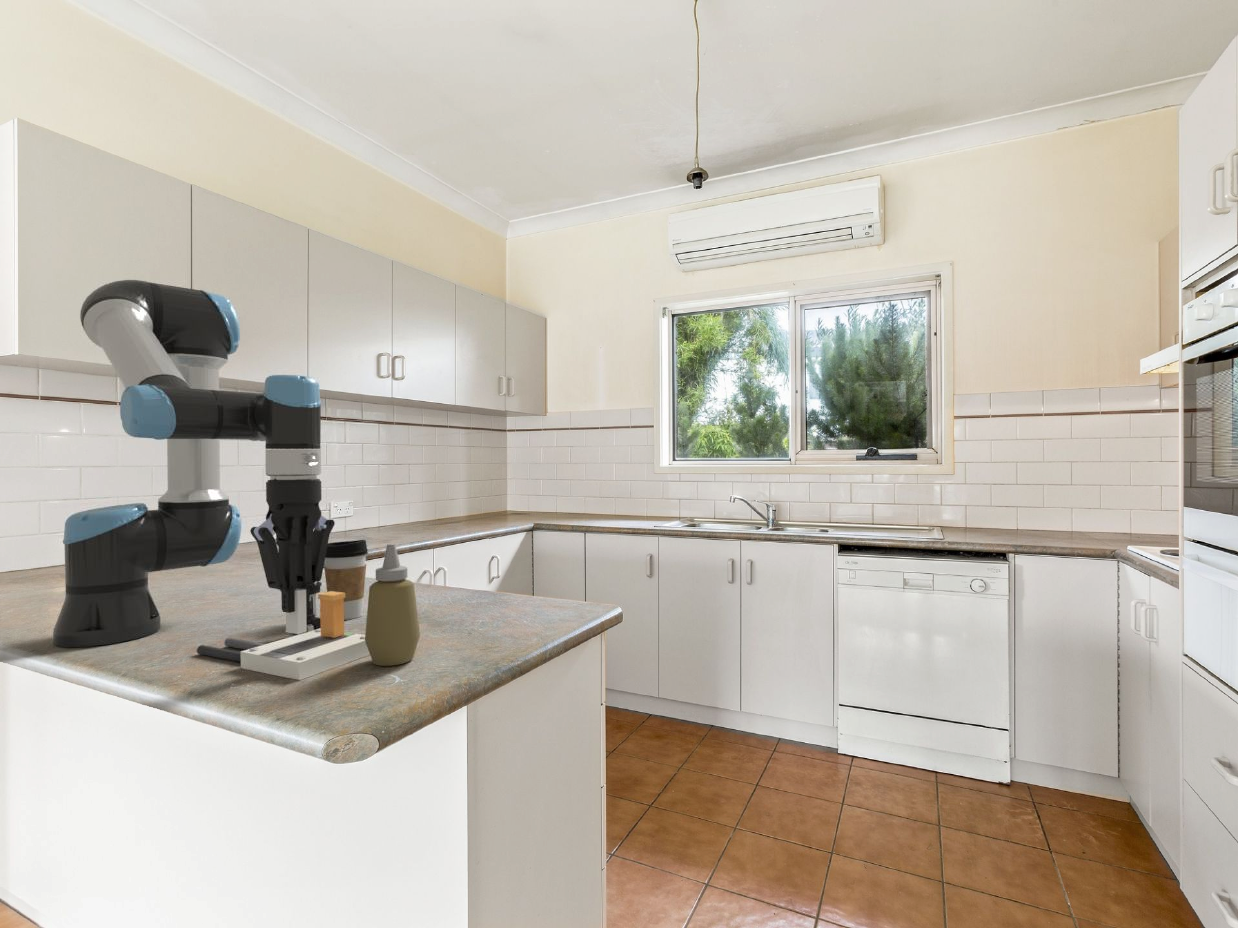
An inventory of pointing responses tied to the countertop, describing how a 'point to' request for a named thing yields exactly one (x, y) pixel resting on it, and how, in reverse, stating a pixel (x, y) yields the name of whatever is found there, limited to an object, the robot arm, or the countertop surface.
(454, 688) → the countertop surface
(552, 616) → the countertop surface
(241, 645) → the cord
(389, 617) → the squeeze bottle
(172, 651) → the countertop surface
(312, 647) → the panel
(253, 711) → the countertop surface
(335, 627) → the lever
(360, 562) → the coffee cup
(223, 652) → the cord
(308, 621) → the push button
